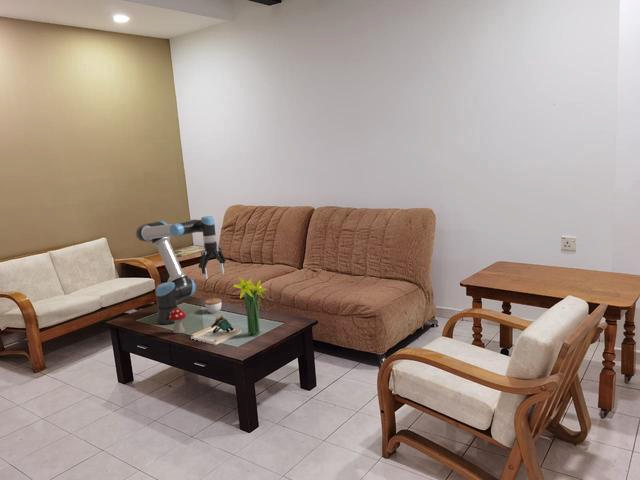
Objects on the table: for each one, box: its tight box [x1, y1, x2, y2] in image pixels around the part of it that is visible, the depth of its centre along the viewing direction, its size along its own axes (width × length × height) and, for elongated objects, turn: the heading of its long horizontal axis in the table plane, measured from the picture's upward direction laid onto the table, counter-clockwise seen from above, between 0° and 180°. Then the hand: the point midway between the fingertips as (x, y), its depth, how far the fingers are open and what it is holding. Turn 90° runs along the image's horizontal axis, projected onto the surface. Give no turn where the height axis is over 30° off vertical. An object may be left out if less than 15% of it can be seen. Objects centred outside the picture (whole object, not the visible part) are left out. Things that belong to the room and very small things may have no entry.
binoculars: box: [211, 315, 235, 333], centre depth 288 cm, size 9×11×10 cm
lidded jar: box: [204, 297, 222, 314], centre depth 335 cm, size 11×11×9 cm
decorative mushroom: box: [169, 308, 187, 334], centre depth 297 cm, size 10×9×15 cm
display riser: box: [190, 325, 242, 346], centre depth 289 cm, size 20×20×3 cm
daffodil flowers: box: [232, 276, 268, 336], centre depth 285 cm, size 17×15×35 cm
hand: (213, 276), depth 311 cm, fingers open, 13 cm apart
